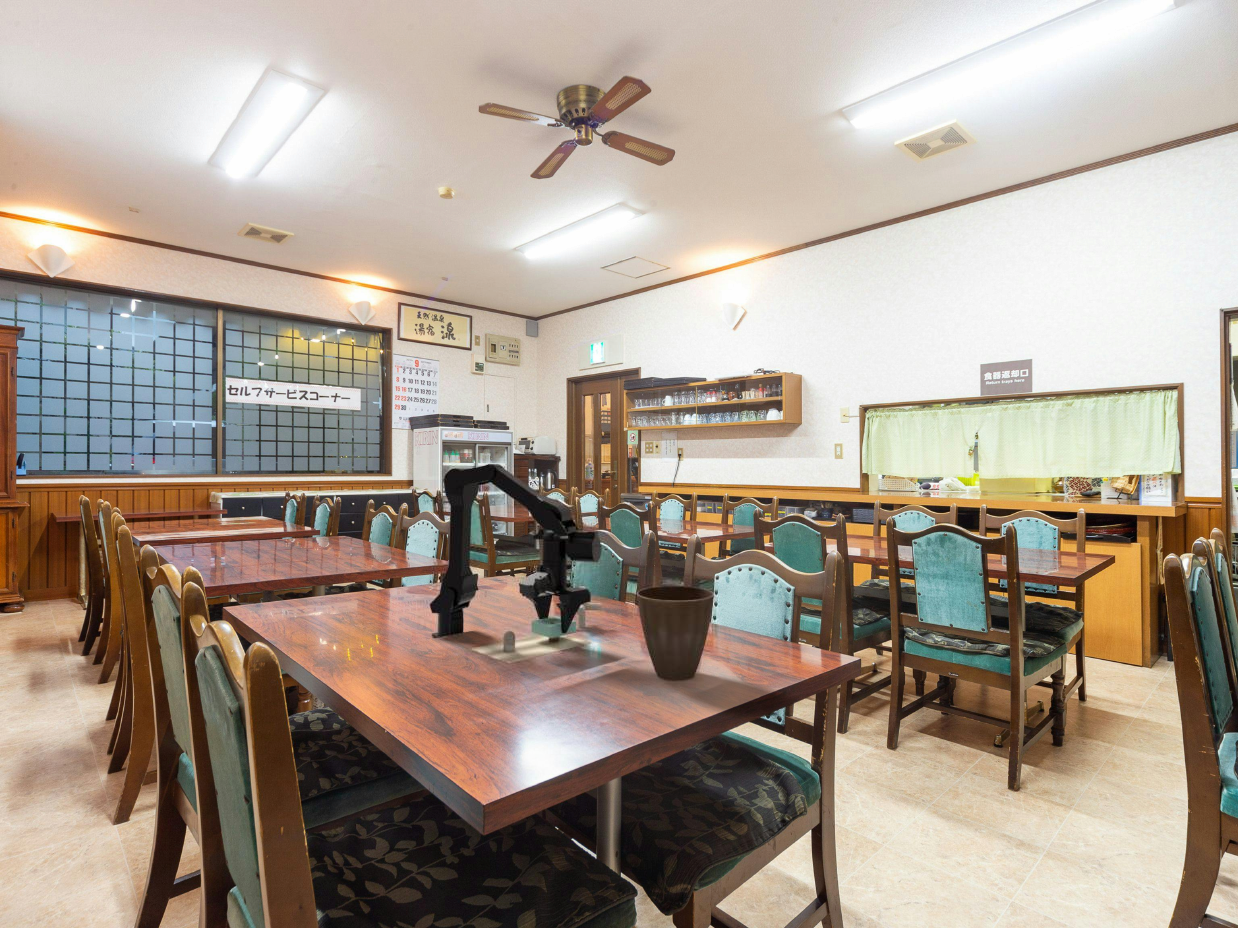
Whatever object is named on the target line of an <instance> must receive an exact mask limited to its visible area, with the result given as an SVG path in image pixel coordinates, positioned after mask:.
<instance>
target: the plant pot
mask: <svg viewBox="0 0 1238 928" xmlns="http://www.w3.org/2000/svg"><path fill="white" fill-rule="evenodd" d="M636 598H637V604H638V610H639V611H638V613H639V618H640V622H641V628H642V631H643V636H644V639H645V644H646V647H647V651H648V655H649V657H650V660H651V664H652V666H653V669H654V671H655V674H656V676H657V677H658V678H660V679H662V680H666V681H672V682H681V681H682V682H683V681H687V680H691V679H692V678H694V677H695V675H696V673H697V671H698V667H699V665H700V662H701V660H702V659H701V658H702V656H703V653H704V649H705V645H706V641H707V637H708V634H709V629H710V625H711V624H710V623H711V618H712V612H713V605H714V598H715V593H714V592H713V591H712V590H709V589H705V588H701V587H695V586H684V585H663V586H662V585H661V586H651V587H647V588H642V589H640V590H638V591H637V592H636Z"/></svg>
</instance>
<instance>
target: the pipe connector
mask: <svg viewBox="0 0 1238 928" xmlns="http://www.w3.org/2000/svg"><path fill="white" fill-rule="evenodd" d="M579 587H580V588H585V589H587V588H586V586H579ZM602 608H603V604H602V602H600V603H599V602H598V603H597V602H587V603H584V604H583V605H581V606H580V608H579V609H578V611H577V613H576V614H577V615H578V616H577V619H578V620H577V622H578V623H577V627H578V628H586V611H602Z"/></svg>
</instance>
